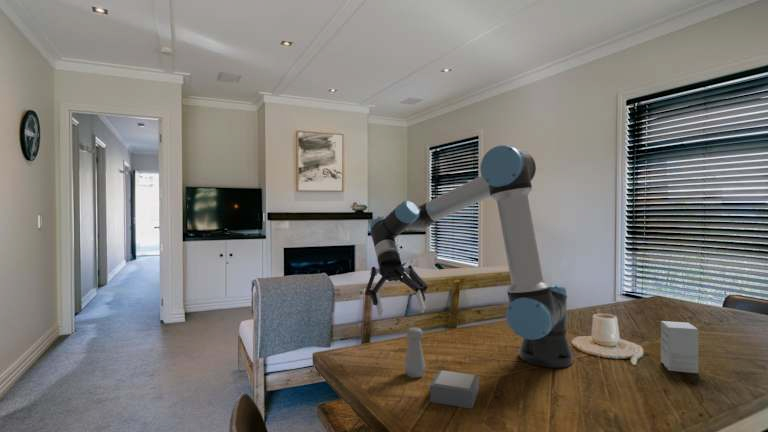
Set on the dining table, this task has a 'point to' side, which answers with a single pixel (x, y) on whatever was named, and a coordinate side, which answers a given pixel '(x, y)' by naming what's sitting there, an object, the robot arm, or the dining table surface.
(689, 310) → the dining table surface
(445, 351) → the dining table surface
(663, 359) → the supplement box
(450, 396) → the slate plinth
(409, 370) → the salt shaker
